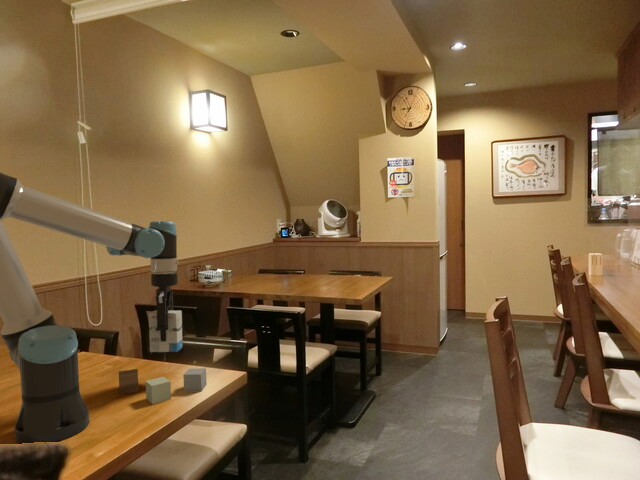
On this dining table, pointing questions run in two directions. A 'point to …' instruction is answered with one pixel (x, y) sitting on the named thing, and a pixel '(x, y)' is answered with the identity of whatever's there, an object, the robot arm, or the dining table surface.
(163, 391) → the sage cube
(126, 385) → the walnut cube
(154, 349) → the ink box
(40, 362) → the robot arm
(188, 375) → the slate cube
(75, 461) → the dining table surface
